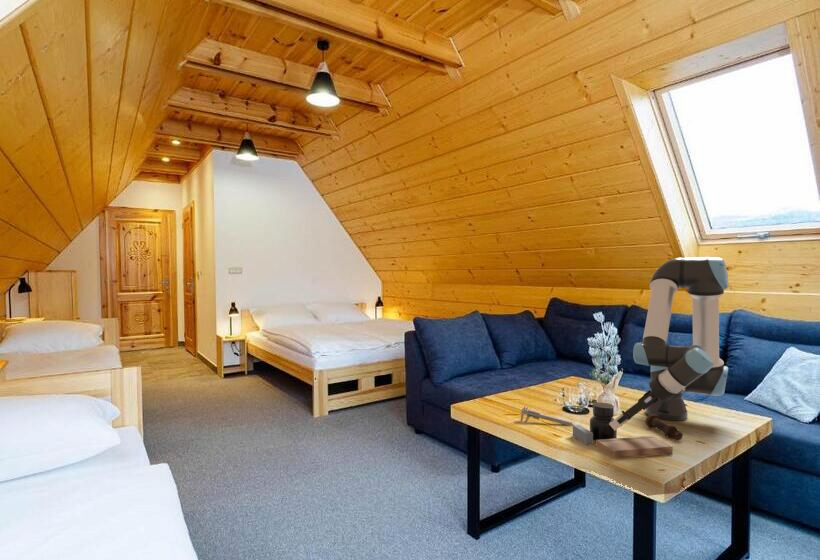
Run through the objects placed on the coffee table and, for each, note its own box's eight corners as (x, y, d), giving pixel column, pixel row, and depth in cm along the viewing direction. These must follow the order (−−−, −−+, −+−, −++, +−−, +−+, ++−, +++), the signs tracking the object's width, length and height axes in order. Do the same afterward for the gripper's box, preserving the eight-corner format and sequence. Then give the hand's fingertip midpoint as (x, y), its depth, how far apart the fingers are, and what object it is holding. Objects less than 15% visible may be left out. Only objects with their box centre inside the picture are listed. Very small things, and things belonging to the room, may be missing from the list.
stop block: (579, 435, 172) (579, 424, 172) (592, 444, 163) (592, 433, 163) (572, 436, 172) (572, 425, 172) (586, 445, 163) (586, 433, 163)
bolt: (677, 446, 166) (649, 430, 181) (688, 439, 166) (660, 423, 181) (669, 433, 165) (643, 417, 180) (681, 425, 166) (653, 410, 181)
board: (651, 442, 165) (651, 435, 165) (672, 453, 155) (672, 446, 155) (596, 446, 161) (596, 439, 161) (613, 458, 151) (613, 450, 151)
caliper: (520, 421, 188) (520, 406, 188) (521, 421, 189) (521, 405, 189) (575, 426, 182) (575, 410, 182) (575, 425, 183) (575, 409, 183)
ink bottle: (618, 436, 171) (618, 403, 171) (618, 445, 163) (618, 410, 162) (589, 432, 175) (589, 400, 174) (587, 441, 167) (587, 407, 166)
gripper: (666, 403, 143) (614, 441, 154) (684, 386, 162) (637, 421, 172) (646, 383, 147) (597, 421, 157) (667, 369, 165) (622, 404, 176)
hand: (618, 421), depth 165 cm, fingers open, 13 cm apart
